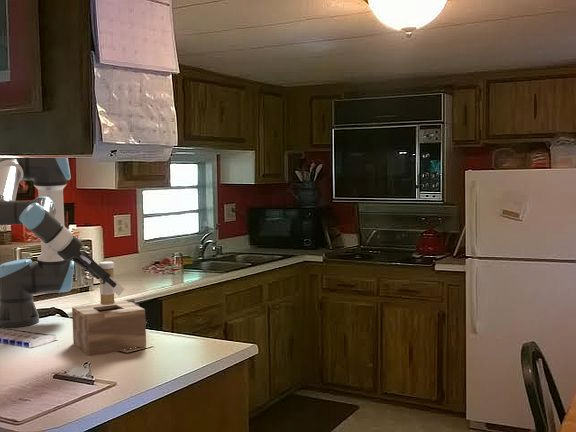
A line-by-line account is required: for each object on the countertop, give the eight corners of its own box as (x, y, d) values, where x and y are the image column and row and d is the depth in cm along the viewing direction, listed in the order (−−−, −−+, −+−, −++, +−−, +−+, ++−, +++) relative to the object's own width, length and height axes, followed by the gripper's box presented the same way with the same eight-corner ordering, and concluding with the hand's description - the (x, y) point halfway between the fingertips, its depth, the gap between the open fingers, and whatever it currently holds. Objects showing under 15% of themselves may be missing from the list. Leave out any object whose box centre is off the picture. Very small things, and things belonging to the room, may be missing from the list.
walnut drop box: (73, 343, 224) (72, 307, 223) (127, 335, 233) (125, 300, 232) (89, 355, 208) (88, 316, 208) (146, 346, 218) (145, 309, 217)
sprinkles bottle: (101, 302, 222) (100, 261, 221) (116, 302, 222) (114, 260, 221) (99, 305, 217) (97, 263, 216) (113, 305, 218) (112, 262, 217)
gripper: (49, 250, 218) (102, 296, 228) (63, 255, 203) (120, 304, 213) (65, 232, 220) (117, 278, 230) (81, 236, 206) (136, 285, 216)
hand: (118, 290), depth 222 cm, fingers closed on sprinkles bottle, 4 cm apart
